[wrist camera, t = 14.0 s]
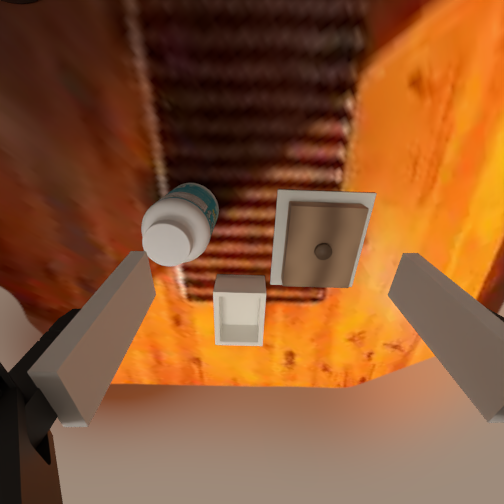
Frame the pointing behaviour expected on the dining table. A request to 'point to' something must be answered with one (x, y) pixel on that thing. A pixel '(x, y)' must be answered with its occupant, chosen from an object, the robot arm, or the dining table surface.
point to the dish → (239, 309)
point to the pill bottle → (179, 224)
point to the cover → (322, 243)
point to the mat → (311, 196)
